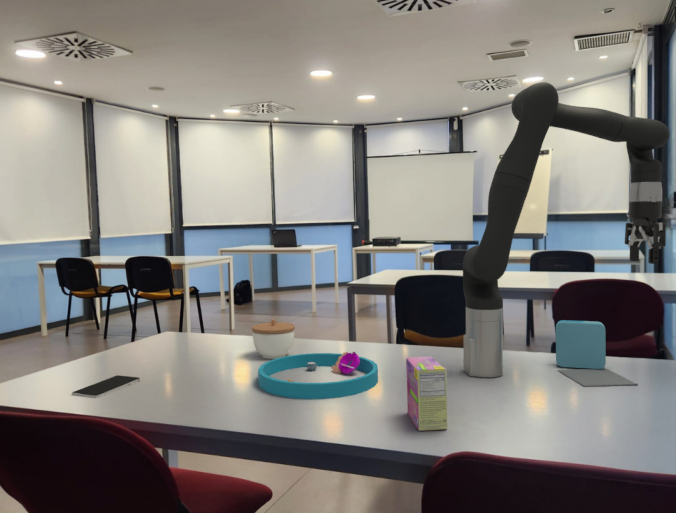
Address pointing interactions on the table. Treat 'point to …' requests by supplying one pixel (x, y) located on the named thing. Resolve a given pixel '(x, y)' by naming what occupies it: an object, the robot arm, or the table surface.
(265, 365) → the teal ring
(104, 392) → the smartphone
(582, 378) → the slate mat
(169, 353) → the table surface
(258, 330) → the lidded bowl
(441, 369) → the box
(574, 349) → the teal rounded block
